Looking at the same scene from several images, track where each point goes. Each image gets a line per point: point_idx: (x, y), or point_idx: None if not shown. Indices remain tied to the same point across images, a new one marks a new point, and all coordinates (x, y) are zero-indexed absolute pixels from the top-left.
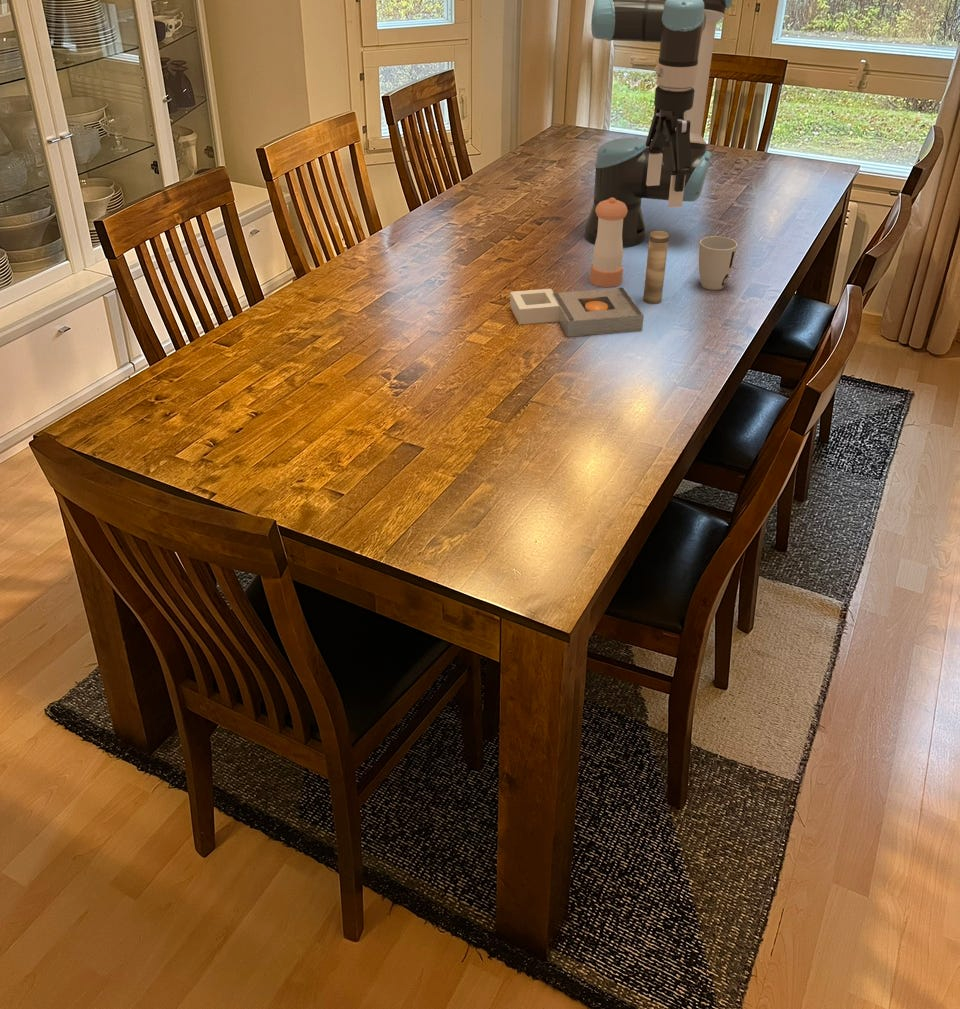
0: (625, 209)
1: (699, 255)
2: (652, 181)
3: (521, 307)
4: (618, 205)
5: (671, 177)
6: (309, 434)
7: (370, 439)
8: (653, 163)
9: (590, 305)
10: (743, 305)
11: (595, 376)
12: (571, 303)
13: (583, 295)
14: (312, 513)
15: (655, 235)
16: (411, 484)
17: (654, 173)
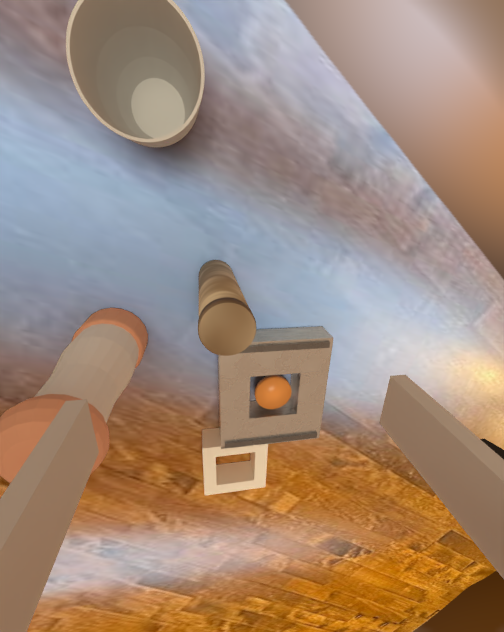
0: None
1: (142, 144)
2: (86, 449)
3: (260, 485)
4: None
5: (492, 554)
6: (398, 587)
7: (422, 558)
8: (36, 568)
9: (271, 402)
10: (278, 87)
11: None
12: (263, 428)
13: (238, 409)
14: (481, 571)
15: (236, 343)
16: None
17: (65, 483)
